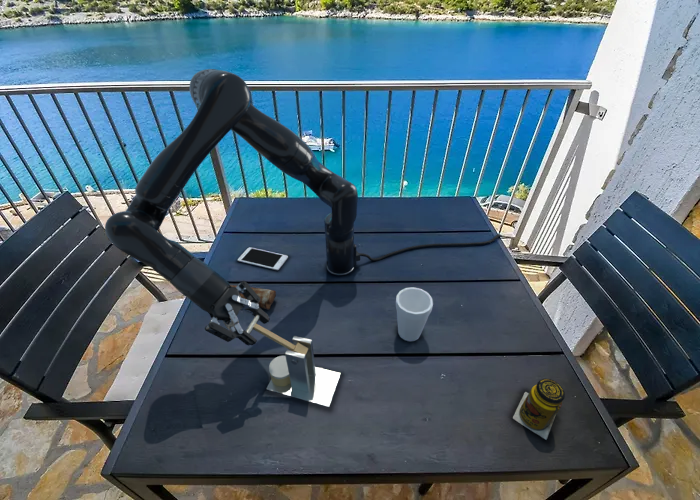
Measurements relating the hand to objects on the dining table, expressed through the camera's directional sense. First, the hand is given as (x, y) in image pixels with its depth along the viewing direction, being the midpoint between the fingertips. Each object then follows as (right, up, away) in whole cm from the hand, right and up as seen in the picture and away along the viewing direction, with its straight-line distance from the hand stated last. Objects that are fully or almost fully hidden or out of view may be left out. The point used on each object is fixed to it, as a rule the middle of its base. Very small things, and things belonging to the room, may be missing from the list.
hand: (260, 331), depth 77 cm
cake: (+3, -13, +9) cm, 16 cm away
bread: (-12, +2, +30) cm, 33 cm away
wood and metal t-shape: (+3, -2, +1) cm, 4 cm away
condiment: (+62, -20, +2) cm, 65 cm away
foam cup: (+36, -5, +21) cm, 42 cm away
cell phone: (-11, +15, +46) cm, 49 cm away
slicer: (+9, -15, +9) cm, 19 cm away
